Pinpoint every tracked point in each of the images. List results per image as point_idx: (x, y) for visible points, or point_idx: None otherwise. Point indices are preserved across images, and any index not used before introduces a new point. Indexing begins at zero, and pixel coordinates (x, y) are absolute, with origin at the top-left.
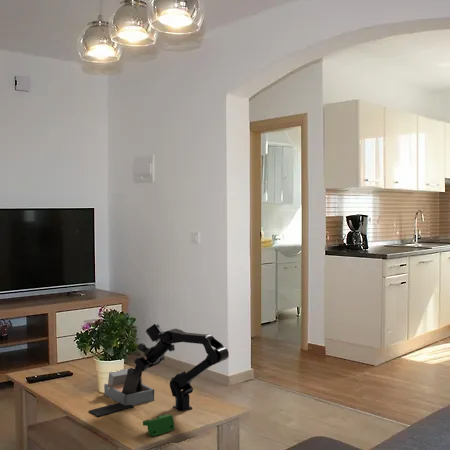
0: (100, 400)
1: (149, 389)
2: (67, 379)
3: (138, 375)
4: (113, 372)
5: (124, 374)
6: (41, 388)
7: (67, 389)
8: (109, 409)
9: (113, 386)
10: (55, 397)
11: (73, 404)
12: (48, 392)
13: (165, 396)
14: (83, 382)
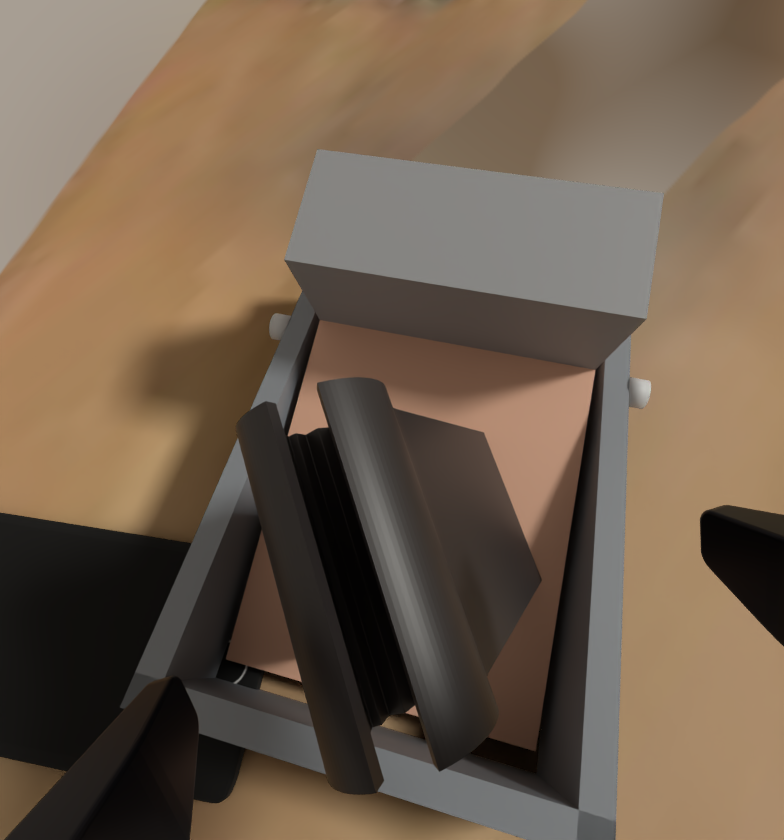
0: (222, 372)
1: (577, 738)
2: (398, 18)
3: (325, 765)
4: (353, 179)
5: (446, 283)
6: (212, 39)
7: (275, 108)
8: (20, 641)
9: (328, 328)
10: (126, 156)
11: (57, 305)
12: (179, 89)
13: (767, 818)
14: (423, 81)
